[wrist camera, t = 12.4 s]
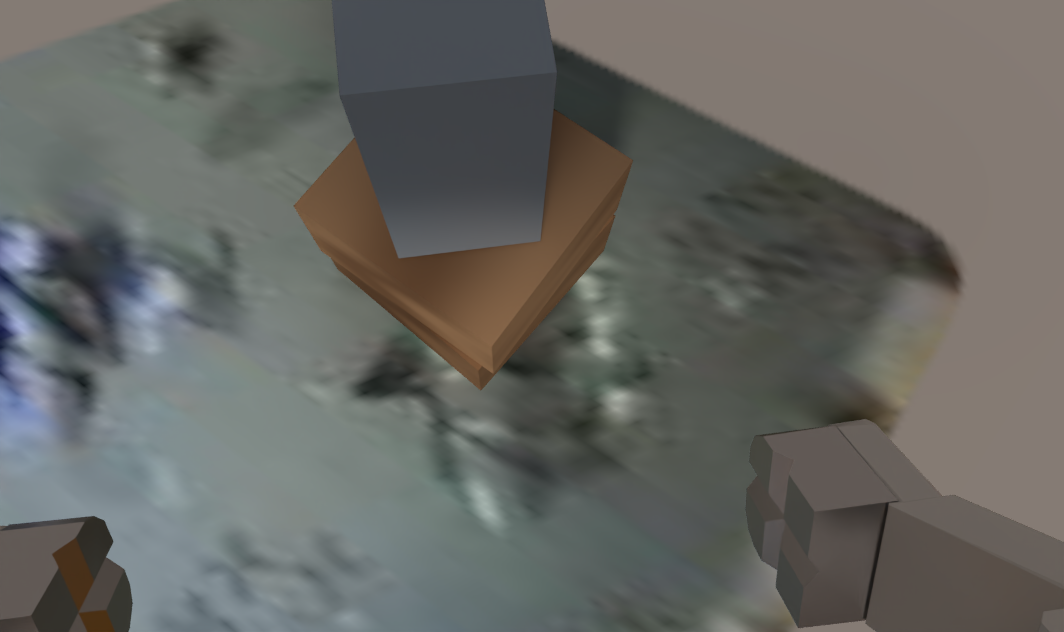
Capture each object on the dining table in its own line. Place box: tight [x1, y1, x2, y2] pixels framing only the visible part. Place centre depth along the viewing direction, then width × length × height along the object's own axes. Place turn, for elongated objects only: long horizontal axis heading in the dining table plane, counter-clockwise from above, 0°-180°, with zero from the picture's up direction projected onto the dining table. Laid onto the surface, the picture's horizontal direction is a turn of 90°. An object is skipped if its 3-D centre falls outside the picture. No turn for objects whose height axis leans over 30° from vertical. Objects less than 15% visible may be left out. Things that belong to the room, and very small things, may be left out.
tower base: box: [331, 215, 615, 390], centre depth 28 cm, size 7×7×4 cm
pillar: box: [332, 0, 557, 258], centre depth 19 cm, size 4×4×8 cm
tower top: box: [294, 109, 633, 374], centre depth 24 cm, size 7×7×4 cm
